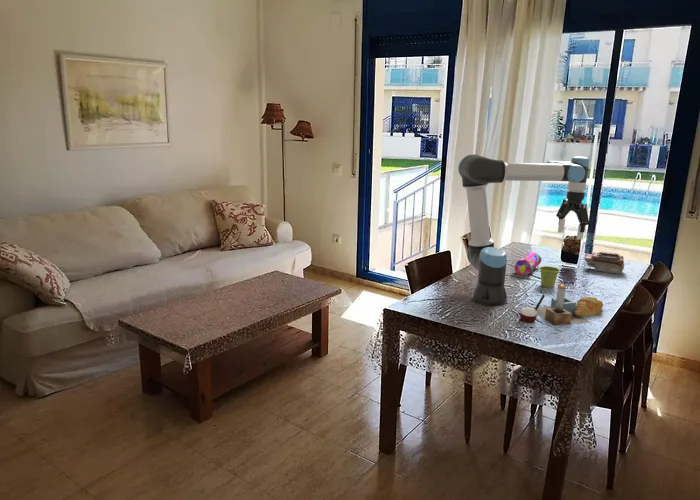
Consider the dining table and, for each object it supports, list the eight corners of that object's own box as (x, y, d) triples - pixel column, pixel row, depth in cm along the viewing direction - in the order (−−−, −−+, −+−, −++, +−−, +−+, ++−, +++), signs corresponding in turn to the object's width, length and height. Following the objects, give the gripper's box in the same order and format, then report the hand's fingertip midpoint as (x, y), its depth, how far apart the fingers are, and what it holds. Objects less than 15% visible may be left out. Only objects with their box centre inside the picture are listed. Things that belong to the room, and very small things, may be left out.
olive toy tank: (621, 277, 277) (624, 260, 275) (580, 271, 287) (583, 254, 285) (624, 271, 288) (627, 254, 286) (584, 265, 298) (587, 249, 296)
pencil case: (531, 278, 275) (533, 261, 273) (513, 274, 280) (514, 258, 278) (541, 268, 293) (542, 252, 291) (523, 265, 298) (525, 249, 296)
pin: (556, 321, 216) (561, 286, 212) (552, 318, 219) (556, 284, 215) (563, 321, 217) (567, 286, 213) (558, 318, 220) (562, 283, 216)
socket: (560, 315, 223) (561, 303, 222) (550, 309, 230) (551, 298, 228) (574, 313, 225) (576, 302, 223) (564, 307, 231) (565, 297, 230)
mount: (555, 324, 214) (556, 314, 213) (545, 317, 220) (546, 308, 219) (570, 322, 215) (571, 313, 214) (559, 316, 222) (560, 307, 221)
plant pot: (554, 283, 267) (556, 266, 265) (560, 289, 258) (562, 272, 256) (535, 282, 268) (537, 265, 266) (540, 288, 259) (542, 271, 257)
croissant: (580, 327, 221) (591, 314, 216) (562, 310, 226) (572, 297, 221) (604, 315, 234) (615, 303, 229) (586, 299, 239) (597, 286, 234)
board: (554, 327, 212) (554, 325, 212) (526, 309, 231) (526, 307, 231) (590, 324, 216) (590, 322, 216) (560, 306, 235) (560, 304, 235)
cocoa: (515, 322, 216) (518, 294, 213) (518, 317, 222) (520, 290, 219) (539, 327, 212) (543, 298, 209) (542, 322, 218) (545, 294, 214)
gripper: (602, 195, 235) (595, 241, 240) (565, 186, 258) (559, 229, 264) (588, 195, 233) (581, 242, 238) (552, 187, 256) (546, 230, 261)
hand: (569, 235), depth 251 cm, fingers open, 13 cm apart
